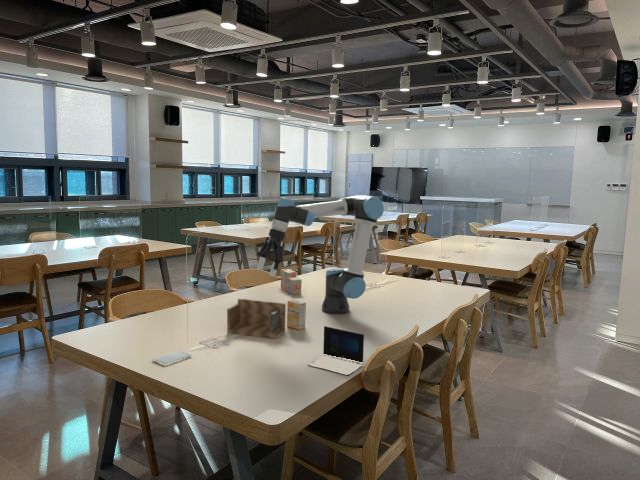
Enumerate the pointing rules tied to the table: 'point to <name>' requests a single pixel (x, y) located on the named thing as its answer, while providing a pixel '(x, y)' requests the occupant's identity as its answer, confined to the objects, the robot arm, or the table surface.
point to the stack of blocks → (290, 281)
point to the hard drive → (172, 357)
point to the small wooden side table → (256, 318)
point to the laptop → (343, 344)
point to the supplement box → (296, 314)
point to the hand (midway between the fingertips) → (265, 273)
